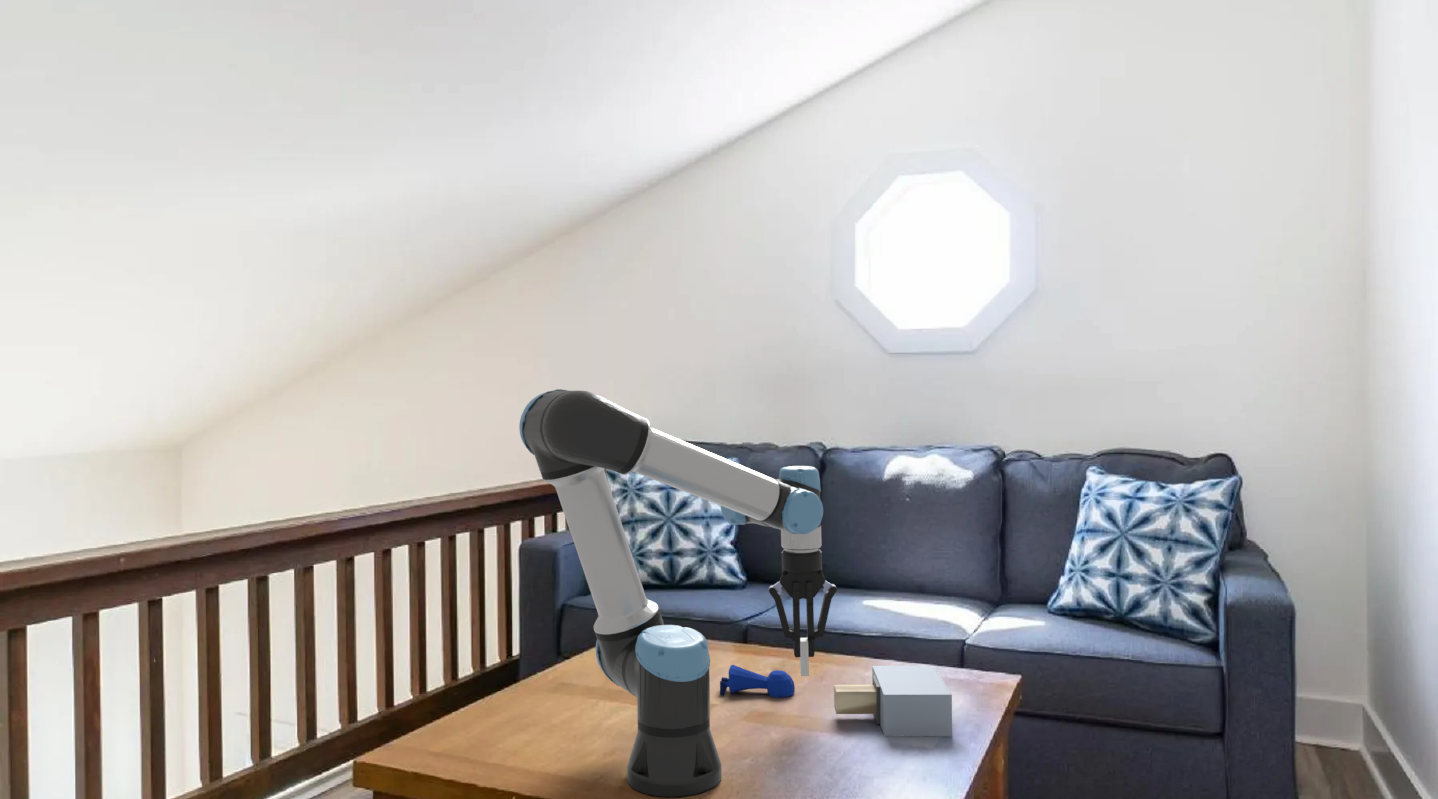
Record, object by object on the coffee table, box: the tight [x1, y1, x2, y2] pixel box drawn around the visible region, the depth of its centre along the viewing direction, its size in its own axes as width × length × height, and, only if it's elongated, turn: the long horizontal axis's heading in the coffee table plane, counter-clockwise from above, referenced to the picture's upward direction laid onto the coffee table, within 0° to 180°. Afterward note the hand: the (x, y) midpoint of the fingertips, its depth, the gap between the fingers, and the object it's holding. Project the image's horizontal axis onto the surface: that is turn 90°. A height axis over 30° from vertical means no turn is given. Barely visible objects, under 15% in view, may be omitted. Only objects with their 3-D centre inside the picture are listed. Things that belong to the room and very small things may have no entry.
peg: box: [833, 684, 877, 715], centre depth 189 cm, size 4×16×4 cm, turn 88°
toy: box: [719, 664, 795, 699], centre depth 206 cm, size 7×6×15 cm
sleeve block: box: [871, 665, 953, 737], centre depth 189 cm, size 18×13×8 cm
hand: (804, 673), depth 190 cm, fingers closed
